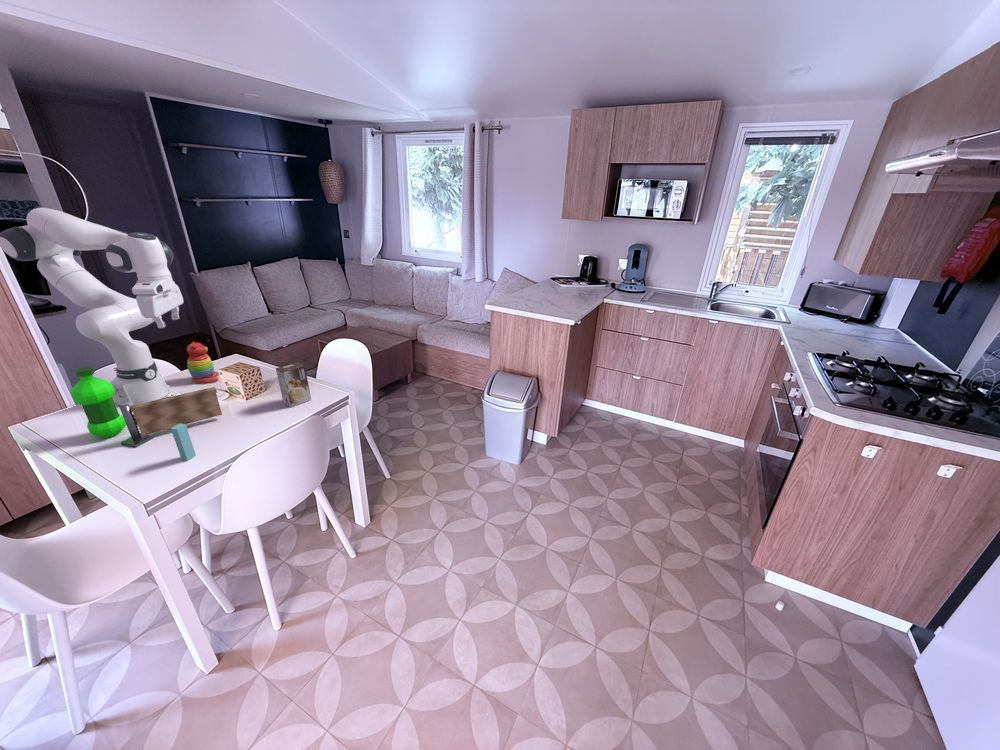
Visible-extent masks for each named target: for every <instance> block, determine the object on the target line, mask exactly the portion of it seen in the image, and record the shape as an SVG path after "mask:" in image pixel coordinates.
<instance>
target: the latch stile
mask: <svg viewBox="0 0 1000 750" xmlns="http://www.w3.org/2000/svg"><path fill="white" fill-rule="evenodd" d="M170 431H171V433H172V436H173V439H174V442H175V445H176V447H177V450H178V453H179V456H180V459H181V460H183V461H187V462H188V461H190V460H191V459H193V458H195V457H196V456H197V453H196V451H195V447H194V446H193V445H194V444H193V442H192V439H191V436H190V433H189V430H188V426H187V424H180V423H179V424H178V425H176V426H174V427H172V428H170Z"/></svg>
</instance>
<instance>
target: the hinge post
mask: <svg viewBox="0 0 1000 750" xmlns="http://www.w3.org/2000/svg"><path fill="white" fill-rule="evenodd" d="M118 406H119V410H120V412H121V414H122V416H123V418H124V420H125V422H126V428H127V430H128V432H129V435H130V437H128V438H127V439H124V440H123V441H121V445H122V446H127V447H132V448H138V447H140V446H141V445H143V444H144V445H145V443H147V442H149V441H151V440H153V439H154V435H152V434H148V435H144V436H142V434H141V432H140V429H139V427H138V424H137V422H136V419H135V416H134V414H133V412H131V409H130V406H129V404H124V405H121V406H120V405H118Z"/></svg>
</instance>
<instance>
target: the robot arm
mask: <svg viewBox="0 0 1000 750" xmlns="http://www.w3.org/2000/svg"><path fill="white" fill-rule="evenodd" d="M25 218H26V224H27V225H23V226H14V227H11V228H8V229H6V230H2V231H0V249H2V251H3V252H4V253H5V254H6V255H7V256H9V257H10V258H11V259H14V260H16V261H19V262H30V261H31V262H32V261H35V260H38V261H37V264H36V267H37V269H38V271H39V273H40V274H41V275H42V276H43V277H44V278H45V279H46V280H47V282H49V284H50V285H52V286H53V287H54V288H55V289H56V290H57V291H59V292H60V293H62V294H63V296H65V297H66V298H67V299H68V300H70V302H72V303H73V304H75V305H76V306H78V307H82V308H85V309H86V308H87V309H90V310H87V311H86V312H83V313H80V314H79V315H77V317H76V319H75V326H76V330H77V331H78V332H79V333H80V334H81V335H83V336H84V337H86V338H88V339H89V340H94V341H97V342H99V343H101V345H103V346H104V347H105V348H107V350H108V351H109V353H110V354H111V356H112V357H111V358H112V359H113V361H114V363H115V366H116V367H114V368H113V372H116V376H115V377H114V378H113V379H112V380H111V381H109V382H110V383H111V384H112V386H113V387H114V390H115V394H114V396H113V397H112V398H113V400H114V403H115V405H116V406H117V405H118V406H121V405H124V404H129V406H132V405H136V404H141V403H145V402H150V401H154V400H158V399H163V398H166V396H167V395H168V394H169V392H170V391H169V389H170V388H171V387H170V385H169V384H167V383H166V381H165V378H164V377H163V374H162V372H161V371H159V369H158V365H157V364H156V362H155V361H154V359H153V357H152V353H151V351H150V348H149V346H148V345H147V343H145V342H144V341H141V340H137V339H133V338H132V337H131V335H130V334H129V332H133V331H135V330H138V329H143V328H145V327H147V326H149V325H151V324H152V323H155V324H156V326H157V328H158V329H164V328H166V326H167V325H166V321H163V318H162V315H165V314H166V313H168V312H170V311H171V315H170V318H171V320H172V321H177V320H180V316H179V312H180V311H179V310H180V308H179V306H181V305H183V304H184V297H183V294H182V291H181V290H180V287H179V285H178V284H176V282H175V281H174V280H173V277H172V272H171V271H170V270H169V267H170V266H172V263H173V260H174V252H173V251H172V249H171V248H170V246H169V245H168V244H166V243H165V242H164V241H162V240H161V239H159V238H158V236H156V235H154V234H152V233H147V232H130V233H128V232H125V231H122V230H118V229H115V228H111V227H108V226H104V225H101V224H98V223H94V222H91V221H88V220H85V219H82V218H80V217H77V216H74V215H72V214H69V213H68V212H67V213H66V212H65V211H62V210H57V209H53V208H48V207H37V208H34V209H32V210H30V211H29V212H28V213H27V215H26V217H25ZM97 250H104V257H105V260H106V262H107V264H108V265H109V266H110V267H111V268H112V269H114V270H115V271H117V272H120V273H127V274H128V273H136V277H137V280H136V283H135V284H134V286H132V288H131V292H132V294H133V295H135V296H136V297H135V298H133V297H130V296H126V295H124V294H122V293H120V292H118V291H116V290H113V288H112V289H111V288H109V286H107V285H105V284H104V283H103V282H101V281H100V280H99V279H97V277H95V276H94V275H92V273H90V271H88V270H87V269H85V268H84V267H83V266H82V265H80V264H79V263H78V262H77V261H76V260H75V258H74V257H75V256H76V257H79V256H81V255H82V254H83V253H82V251H97Z"/></svg>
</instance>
